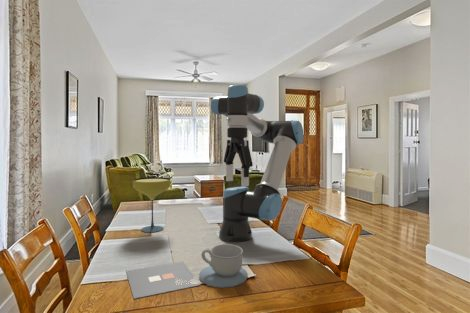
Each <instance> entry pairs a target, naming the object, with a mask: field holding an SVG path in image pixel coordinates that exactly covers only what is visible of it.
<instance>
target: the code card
mask: <svg viewBox="0 0 470 313" xmlns="http://www.w3.org/2000/svg"><path fill="white" fill-rule="evenodd" d="M125 272H126V276H127V279H128V283H129V288H130V290H131V294H132V298H133V300H136V299H137V300H138V299H141V298H146V297H150V296H156V295H161V294H165V293H171V292H175V291H181V290H185V289H189V288H195V287H200V286H201V284H199V283H200V282H199V283H198V284H191V283H190V282H191V281H190V280H191V279H194V278H193V277H195V276H194V274H193V273H192V271H191V270H190V269H189V267H188V266H187V264H186V263H185V262H184V261H177V262H170V263H165V264H158V265H154V266H147V267H142V268H135V269H129V270H126V271H125ZM176 278H177V279H178V280H179V279H180V280H181V279H182V280H183V282H184V281H185V280H186V281H187V282H186V281H185V282H184V283H183V282H182V285H181V283H180V284H179V285H178V283H177V285H176V283H175V281H176V280H177V279H176ZM175 279H176V280H175ZM182 280H181V281H182ZM181 281H180V282H181ZM188 281H190V282H188ZM178 282H179V281H178ZM186 283H187V284H186ZM188 283H189V284H188ZM199 285H200V286H199Z"/></svg>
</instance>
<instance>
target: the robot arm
mask: <svg viewBox="0 0 470 313" xmlns="http://www.w3.org/2000/svg"><path fill="white" fill-rule="evenodd" d="M264 106H265V101H264V99H263V97H262V96H260V95H257V94H252V93H249V89H248V86H247V85H245V84H233V85H229V86H228V88H227V95H222V96H221V95H219V96H215V97H213V98H212V99H211V101H210V110H211V112H212V114H214V115H223V116H225V117H226V121H227V127H228V128H227V132H226V134H227V138H229V139H227V140H226V149H225V152H224V158H223V163H225V166H226V167H225V172H226V173H225V176H226V177H225V182H233V181H234V160H235V158H236V154H238V157H239V160H240V163H241V167H240V170H241V172H240V173H241V176H240V179H241V183H240V184H241V186H234V187H227V188H224V190H223V195H222V223H221V226H220V229H219V233H218V234H219V236H218V237H219V239H220V240H222V241H225V242H229V243H242V242H247V241H249V240H251V239H253V235H252V234H253V232H252V229H251V225H250V222H249V218H251V219H256V220H257V219H258V220H261V221H273V220H276V219H277V218H278V217H279V215H280V213H281V211H282V207H283V206H282V204H283V198H282V196H281V192H280V191H279V188H280V186H281V182H282V180H283V176H284V175H285V171H286V168H287V165H288V162H289V159H290V156H291V154H292V151H294V150H296V148H297V146H298V145H301V144H303V142H304V136H305V134H304V128H303V124H302V123H301V122H300V121H299V120H293V119H292V120H265V119H263V118H259V117H258V116H256V115H257V114H259V113H261V112H262V111H263V110H264ZM255 114H256V115H255ZM248 131H249V132H250V133H251V135H252V136H253V137H255V138H257V139H258V140H261V141H263V142H265V143H269V144H273V145H274V146H273V149H272V151H271V153H270V157H269V159H268V162H267V164H266V167H265V170H264V172H263V175H262V177H261V180H260V183H258V184H256V185H255V186H254V190H249V186H250V168H251V167H253V165H254V164H253V161H252V154H251V150H250V146H249V140H248V139H247V138H248ZM244 138H245V139H244ZM246 139H247V140H246Z"/></svg>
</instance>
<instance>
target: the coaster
mask: <svg viewBox="0 0 470 313" xmlns="http://www.w3.org/2000/svg"><path fill="white" fill-rule="evenodd" d="M198 278H200V279H199V281H200V280H201V281H202V282H203V283H202V282H201V281H200V282H201V283H202V284H204V283H205V284H207V285H206V286H208V285H209V287H211V286H212V288H217V287H219V288H220V289H226V288H227V289H228V288H229V289H230V288H234V287H237V286H240V285H243V283H245V282H246V281H247V279H248V272H247V270H246V269H245V268H243V267H241V269H240V271H239V272H237V273H236V274H235V275H233V276H229V277H224V276H220V275H218V274H217V273H216V272H215V271H214V270H213V269H212V267H211V266H210V265H208V266H206V267H204V268H202V269H201V270H200V271H199V273H198ZM205 284H204V285H205Z"/></svg>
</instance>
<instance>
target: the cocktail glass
mask: <svg viewBox="0 0 470 313" xmlns="http://www.w3.org/2000/svg"><path fill="white" fill-rule="evenodd" d="M171 181H172V180H171V178H168V177H161V176H160V177H159V176H157V177H156V176H151V177H150V176H149V177H140V178H134V179H133V180H132V187H133V189H134V190H135V191H137V192H139V193H140V194H142V195H145V196H147V198H148V199H149V200H150V201H151V220H150V221H151V224H150V225H149V226H145V227H142V228H141V229H140V230H141V232H143V233H147V234H148V233H149V234H151V233H159V232H161V231H163V230H164V226H161V225H155V223H154V200H155V199H156V198H157V196H159V195H161V194H162V193H164V192H166V191H167V190H169V189H170V188H171V185H172V182H171Z"/></svg>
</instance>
